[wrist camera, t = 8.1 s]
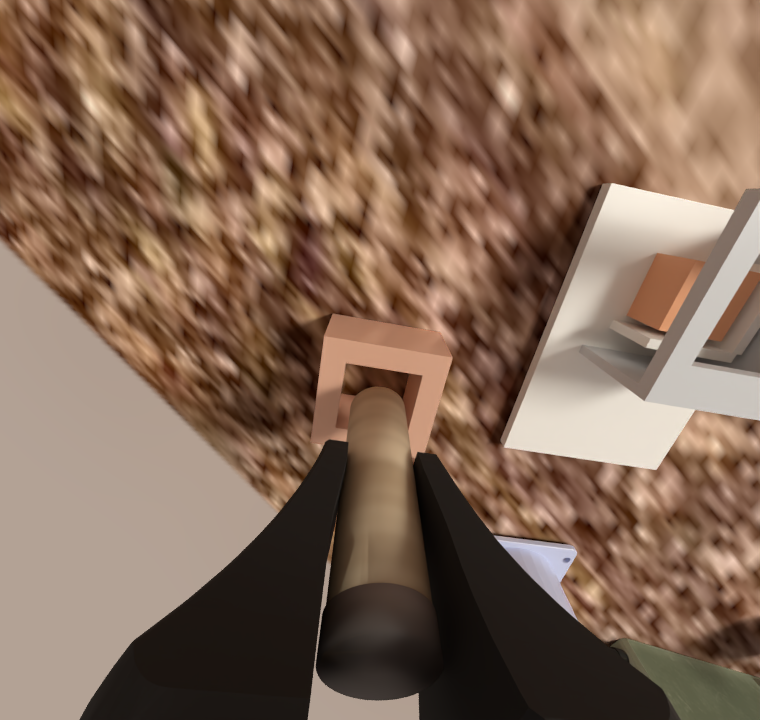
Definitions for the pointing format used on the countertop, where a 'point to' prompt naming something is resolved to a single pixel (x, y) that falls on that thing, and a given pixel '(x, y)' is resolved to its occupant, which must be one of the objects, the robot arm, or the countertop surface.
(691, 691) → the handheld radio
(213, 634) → the robot arm
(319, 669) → the stylus
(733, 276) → the square socket plate
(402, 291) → the countertop surface
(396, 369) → the stylus holder
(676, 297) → the button
